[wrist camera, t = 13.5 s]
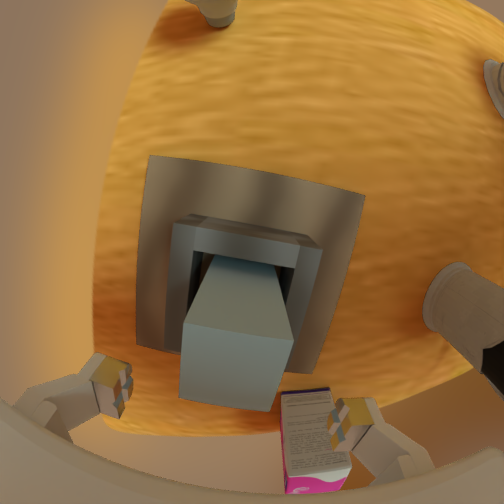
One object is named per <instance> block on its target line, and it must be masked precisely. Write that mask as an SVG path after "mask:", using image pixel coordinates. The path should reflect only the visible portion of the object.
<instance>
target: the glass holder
mask: <svg viewBox="0 0 504 504" xmlns="http://www.w3.org/2000/svg"><path fill="white" fill-rule="evenodd" d="M422 315H423V320H424V323H425V325H426V326H427V328H429V329H430V330H432V331H434V332H439V333H440V334H441V335H442V336H443V337H444V338H445V339H446V340H447V341H448V342H449V343H450V344H451V345H452V346H453V347H454V348H455V349H456V350H458V351H459V352H460V353H461V354H462V355H463V356H464V357H465V358H466V359H467V360H468V361H469V362H470V363H471V364H472V365H473V366H474V367H475V368H476V369H477V371H478V372H479V373H481V374H484V375H485V377H486V379H487V380H488V382H489V383H490V385H491V386H492V388H493V389H494V391H495V392H496V393H497V394H498V395H499V397H500V398H501V399H502V400H503V401H504V288H502V287H500V286H498V285H497V284H495V283H493V282H491V281H489V280H487V279H485V278H484V277H482V276H480V275H478V274H476V273H474V272H473V271H472V270H471V268H470V267H469V266H468V265H467V264H465V263H462V262H455V263H452V264H449V265H448V266H446V267H445V268H443V269H442V270H441V271H440V272H439V273H438V274H437V276H436V277H435V278H434V280H433V281H432V283H431V284H430V286H429V288H428V290H427V293H426V295H425V299H424V302H423V309H422Z"/></svg>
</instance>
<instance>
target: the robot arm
mask: <svg viewBox="0 0 504 504" xmlns="http://www.w3.org/2000/svg"><path fill="white" fill-rule="evenodd" d="M131 373H132V365H131V364H129V363H126V362H123V361H121V360H118V359H115V358H112V357H110V356H106V355H104V354H101V353H99V352H96V353H94V354H93V356H92V357H91V358H90V359H89V361H88V362H87V363H86V364H85V365H84V367H83V368H82V369H81V371H80V372H79V373H78V374H77V375H76V374H72V375H68V376H65V377H62V378H59V379H56V380H53V381H50V382H46V383H43V384H40V385H37V386H33V387H30V388H28V389H27V390H26V391H25V392H24V393H23V395H22V396H21V397H20V398H19V399H18V400H17V402H16V403H15V404H14V405H13V406H11V405H10V404H8V403H7V402H6V401H5V400H3V399H2V398H1V397H0V504H504V452H502V451H500V450H498V449H496V448H494V447H486V448H484V449H482V450H480V451H478V452H476V453H474V454H472V455H470V456H467V457H465V458H463V459H460V460H458V461H456V462H453V463H450V464H448V465H446V466H443V467H440V468H437V469H435V467H434V465H433V463H432V461H431V458H430V457H429V454H428V452H427V451H426V449H425V448H423V447H422V446H420V445H419V444H417V443H416V442H414V441H413V440H411V439H410V438H409V437H407V436H406V435H404V434H403V433H401V432H400V431H399V430H397V429H396V428H394V427H393V426H392V425H390V424H386V423H385V421H384V419H383V417H382V414H381V412H380V410H379V408H378V406H377V404H376V401H375V399H374V398H372V397H367V398H339V399H338V400H337V401H336V403H335V406H336V408H335V409H334V410H332V411H331V412H330V414H329V416H328V420H327V429H328V432H329V433H330V434H331V435H332V438H331V439H330V442H331V446H332V450H333V452H345V451H352V453H353V454H354V455H355V456H356V457H357V458H358V460H359V461H360V462H361V463H362V464H363V465H364V466H365V467H366V468H367V469H368V470H369V471H370V472H371V473H372V474H373V475H374V476H375V477H376V479H375V480H374V481H373V482H372V483H371V484H370V485H369V486H368V487H364V488H358V489H352V490H344V491H335V492H324V493H308V494H264V493H248V492H238V491H229V490H221V489H214V488H208V487H202V486H196V485H192V484H187V483H182V482H178V481H174V480H170V479H166V478H162V477H158V476H154V475H151V474H148V473H145V472H141V471H138V470H135V469H132V468H130V467H127V466H124V465H121V464H118V463H116V462H113V461H111V460H108V459H106V458H103V457H101V456H99V455H96V454H94V453H92V452H90V451H87V450H85V449H83V448H81V447H79V446H77V445H75V444H74V443H73V441H72V439H71V437H70V435H69V433H68V431H69V430H71V429H73V428H75V427H77V426H79V425H80V424H82V423H84V422H86V421H88V420H89V419H91V418H93V417H95V416H96V415H98V414H100V413H103V414H106V415H108V416H111V417H114V418H117V419H120V417H121V415H122V413H123V411H124V409H125V405H124V402H126V401H129V399H130V397H131V395H132V391H133V379H132V377H131V376H130V375H131Z"/></svg>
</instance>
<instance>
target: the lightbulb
mask: <svg viewBox="0 0 504 504" xmlns="http://www.w3.org/2000/svg"><path fill="white" fill-rule="evenodd" d="M185 1H187V2H190V3H192V4H195V5H197V7H198V8H199V10H200V12H201V13H202V14H203V15H204V16H205V19H206V20H207V22H208V24H209V25H211V26H213V27H225V26H227V25H229V24H231V23H232V22H233V20H234V17H235V9H236V7H237V0H185Z"/></svg>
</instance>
